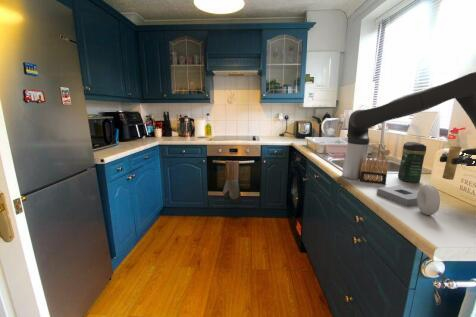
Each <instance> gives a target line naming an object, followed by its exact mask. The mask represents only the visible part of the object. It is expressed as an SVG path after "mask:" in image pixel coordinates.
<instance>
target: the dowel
mask: <svg viewBox="0 0 476 317" xmlns="http://www.w3.org/2000/svg"><path fill="white" fill-rule="evenodd" d="M461 151H462V146H459V145H449V149H448V152H447V153H448V156H447V161H446V162H445V166H444V170H443V173H442V178H443V179H444V180H451V181H453V180H454V179H455V176H456V171H457V166H458V164H456V165H453V164H451V162H452V159H453V158H459V155H460V152H461Z"/></svg>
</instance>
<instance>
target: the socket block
mask: <svg viewBox="0 0 476 317" xmlns="http://www.w3.org/2000/svg"><path fill="white" fill-rule="evenodd" d="M418 191H419V190H414V189H412V188H408V187H405V186H402V185H393V186H385V187H378V188H377V191H376V195H377V196H380V197H384V198H386V199H388V200H391V201H393V202H396V203H398V204H401V205H402V204H403V206H405V207H409V206H410V207H411V206H415V205H417V206H418V204H417V194H418Z"/></svg>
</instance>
